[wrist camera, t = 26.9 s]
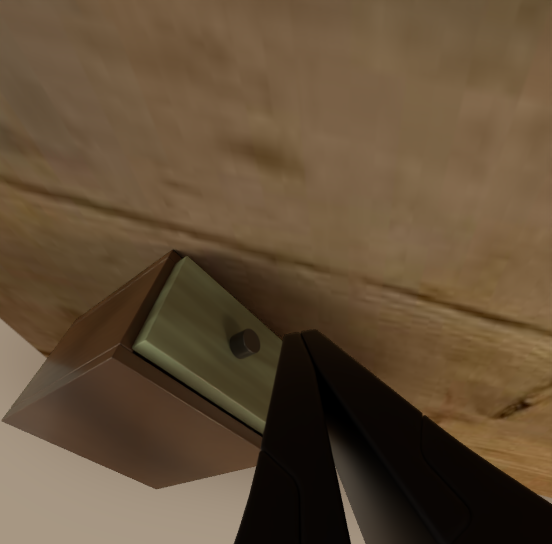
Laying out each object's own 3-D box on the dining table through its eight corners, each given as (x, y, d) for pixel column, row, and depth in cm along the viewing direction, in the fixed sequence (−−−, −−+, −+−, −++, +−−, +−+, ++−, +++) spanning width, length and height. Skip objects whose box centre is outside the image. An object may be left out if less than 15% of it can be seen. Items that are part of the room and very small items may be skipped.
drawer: (200, 246, 21) (160, 331, 15) (307, 346, 26) (304, 434, 21) (90, 322, 26) (35, 402, 21) (196, 391, 32) (172, 469, 26)
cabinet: (172, 249, 22) (111, 357, 16) (287, 350, 28) (278, 461, 21) (75, 320, 28) (0, 421, 21) (187, 392, 34) (156, 489, 27)
